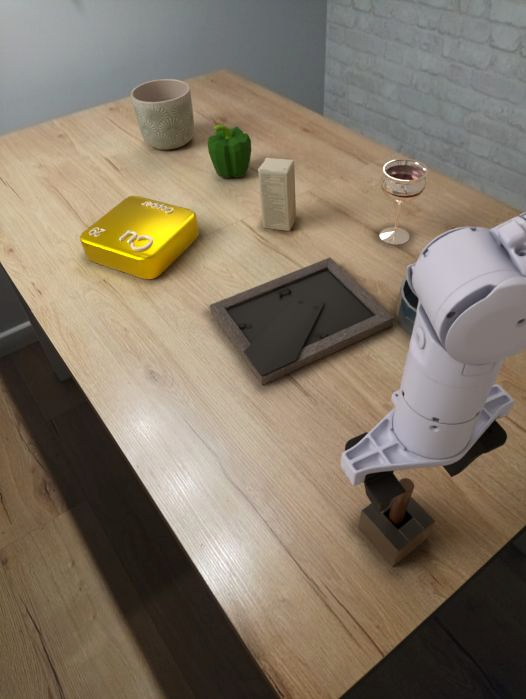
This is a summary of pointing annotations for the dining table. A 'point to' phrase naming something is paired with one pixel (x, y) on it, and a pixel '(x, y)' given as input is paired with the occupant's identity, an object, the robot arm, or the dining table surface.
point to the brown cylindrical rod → (401, 503)
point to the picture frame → (299, 319)
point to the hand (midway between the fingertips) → (411, 483)
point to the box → (277, 193)
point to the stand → (396, 530)
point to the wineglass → (401, 192)
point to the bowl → (407, 307)
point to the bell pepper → (229, 151)
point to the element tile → (140, 236)
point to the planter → (164, 113)
